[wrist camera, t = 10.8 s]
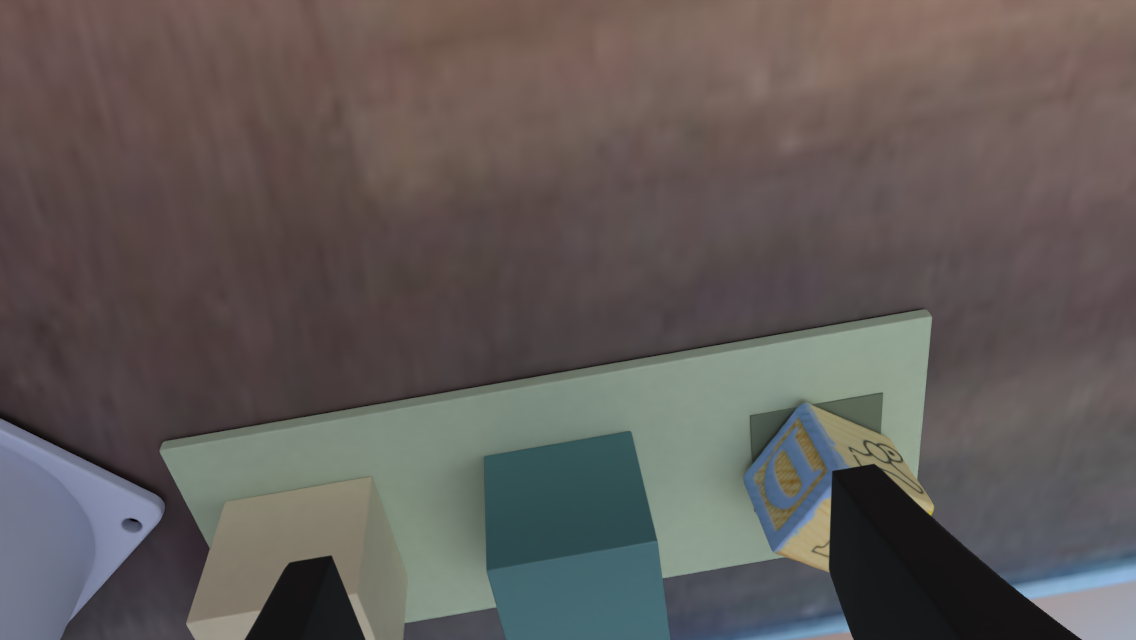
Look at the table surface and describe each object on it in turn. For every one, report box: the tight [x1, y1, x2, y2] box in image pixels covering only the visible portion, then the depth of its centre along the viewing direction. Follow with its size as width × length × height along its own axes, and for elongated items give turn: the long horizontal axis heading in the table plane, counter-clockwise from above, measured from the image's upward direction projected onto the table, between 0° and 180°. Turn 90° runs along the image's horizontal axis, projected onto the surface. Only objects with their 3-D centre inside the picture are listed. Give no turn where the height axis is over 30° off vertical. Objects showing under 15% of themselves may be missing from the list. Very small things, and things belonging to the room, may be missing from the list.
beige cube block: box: [186, 477, 408, 640], centre depth 23 cm, size 4×4×4 cm
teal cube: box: [484, 431, 670, 640], centre depth 23 cm, size 4×4×4 cm
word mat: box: [159, 309, 932, 623], centre depth 25 cm, size 20×8×1 cm, turn 98°
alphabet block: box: [743, 402, 934, 573], centre depth 24 cm, size 3×3×3 cm
